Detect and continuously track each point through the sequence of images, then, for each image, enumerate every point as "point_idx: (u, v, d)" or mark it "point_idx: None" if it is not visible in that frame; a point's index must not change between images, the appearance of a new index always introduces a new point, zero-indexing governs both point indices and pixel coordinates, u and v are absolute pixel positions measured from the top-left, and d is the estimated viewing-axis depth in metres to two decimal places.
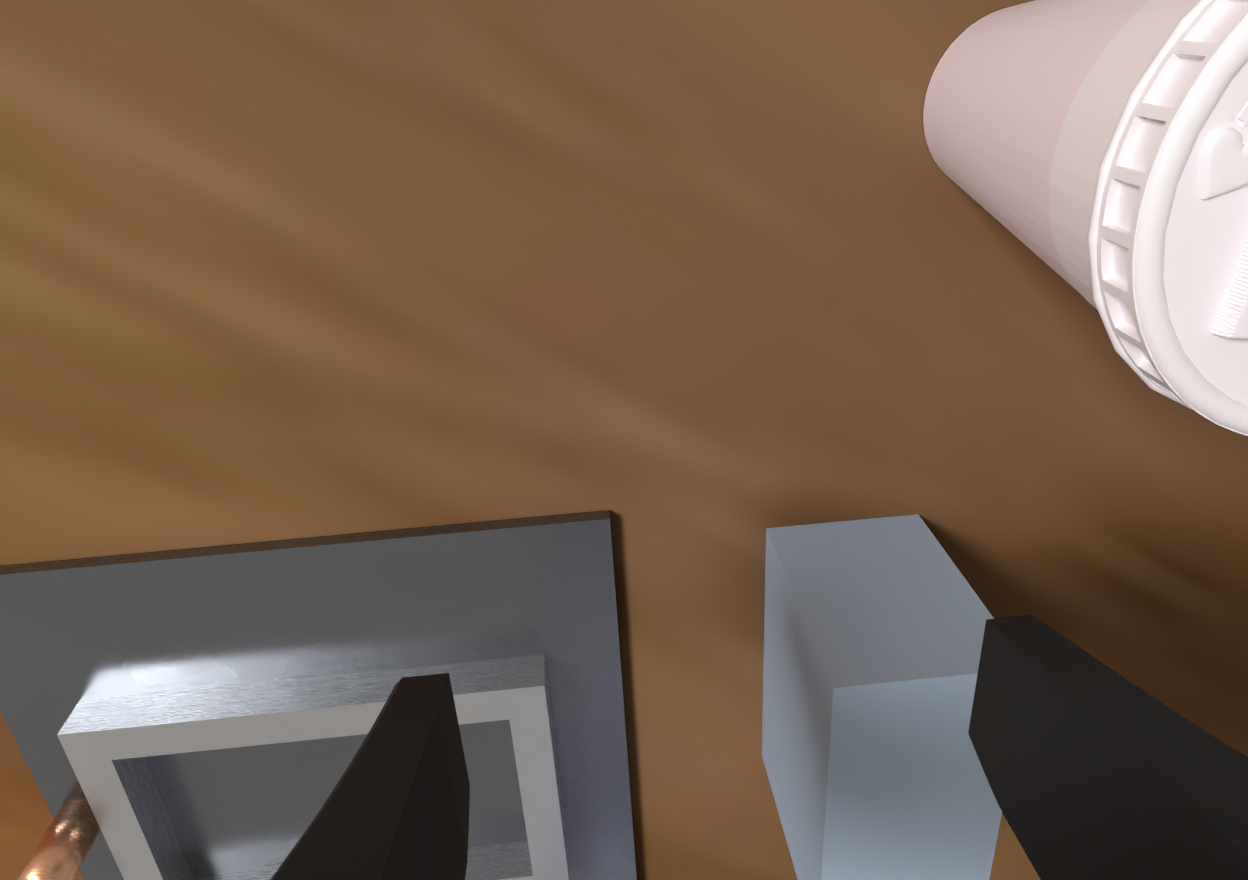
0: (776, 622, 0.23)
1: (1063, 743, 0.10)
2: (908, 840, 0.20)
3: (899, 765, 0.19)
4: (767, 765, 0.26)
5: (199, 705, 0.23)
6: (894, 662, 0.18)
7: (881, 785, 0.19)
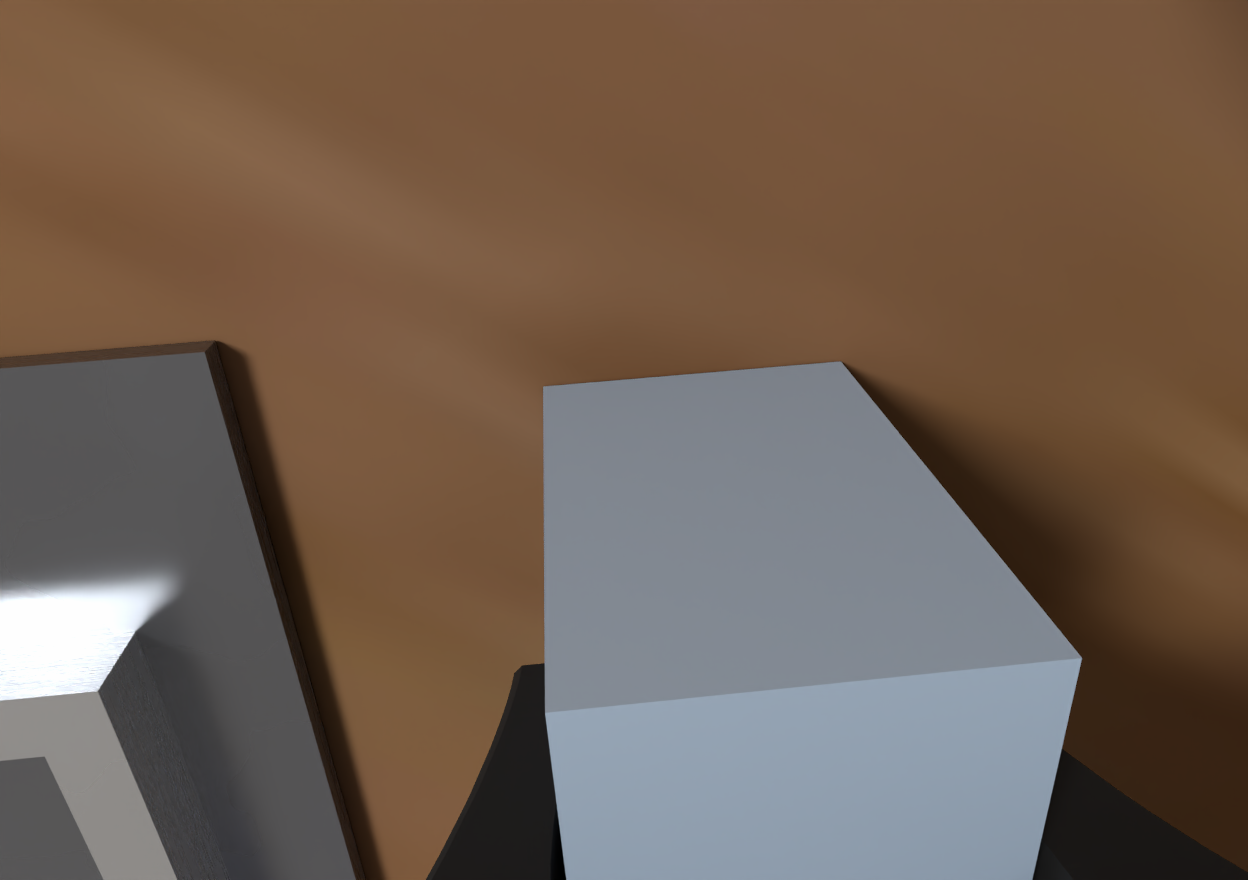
0: None
1: None
2: None
3: None
4: None
5: None
6: (728, 643, 0.07)
7: None
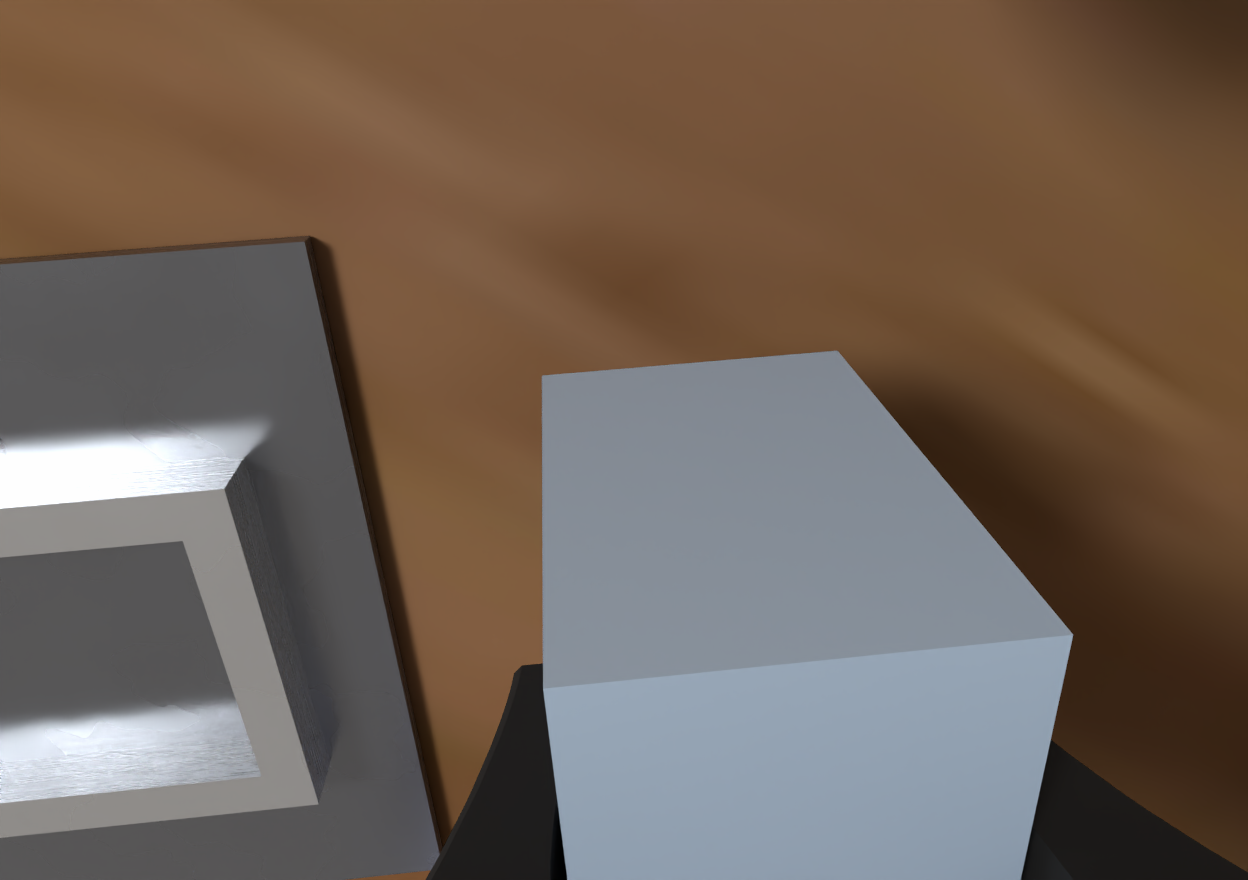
0: None
1: None
2: None
3: (748, 878, 0.08)
4: None
5: None
6: (724, 622, 0.07)
7: None
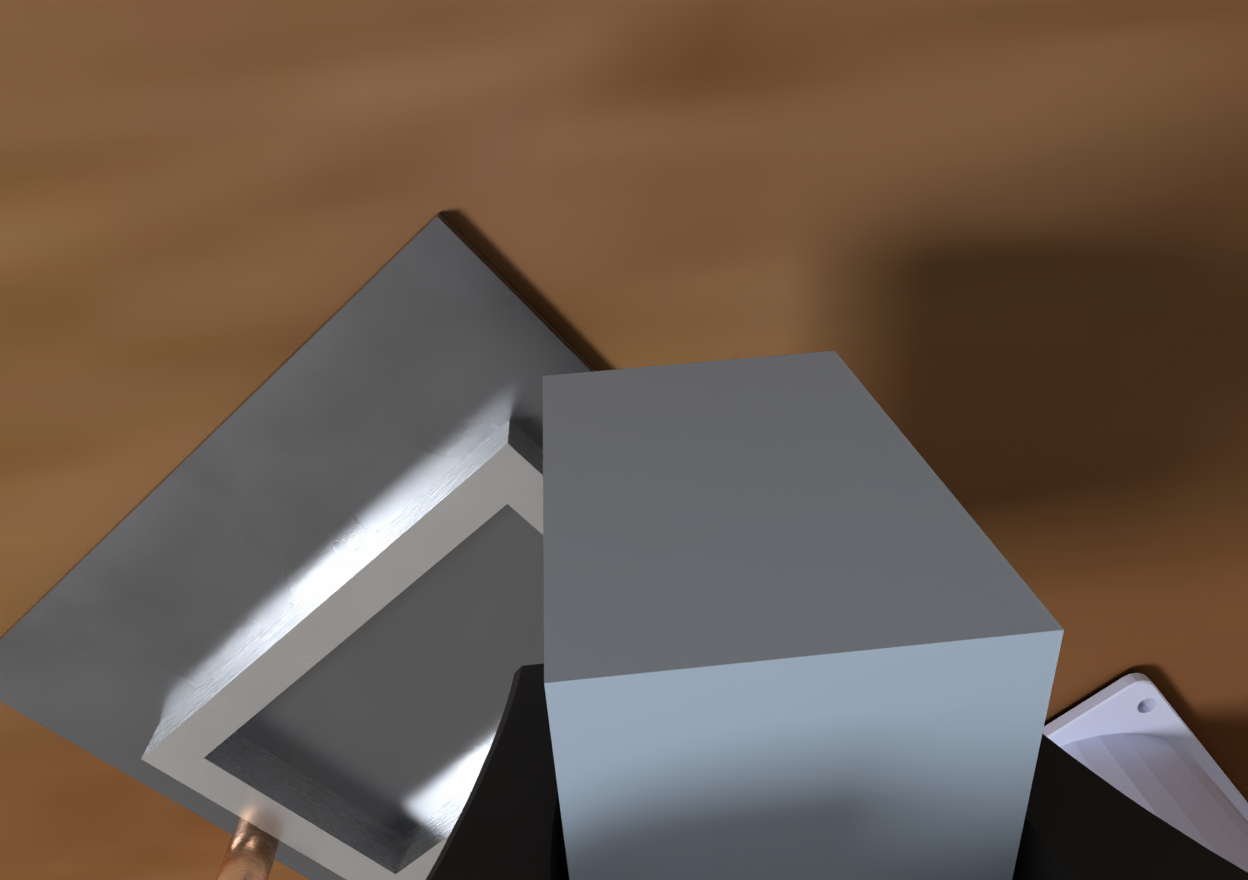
0: None
1: None
2: None
3: (745, 869, 0.08)
4: None
5: (237, 665, 0.21)
6: (722, 617, 0.07)
7: None
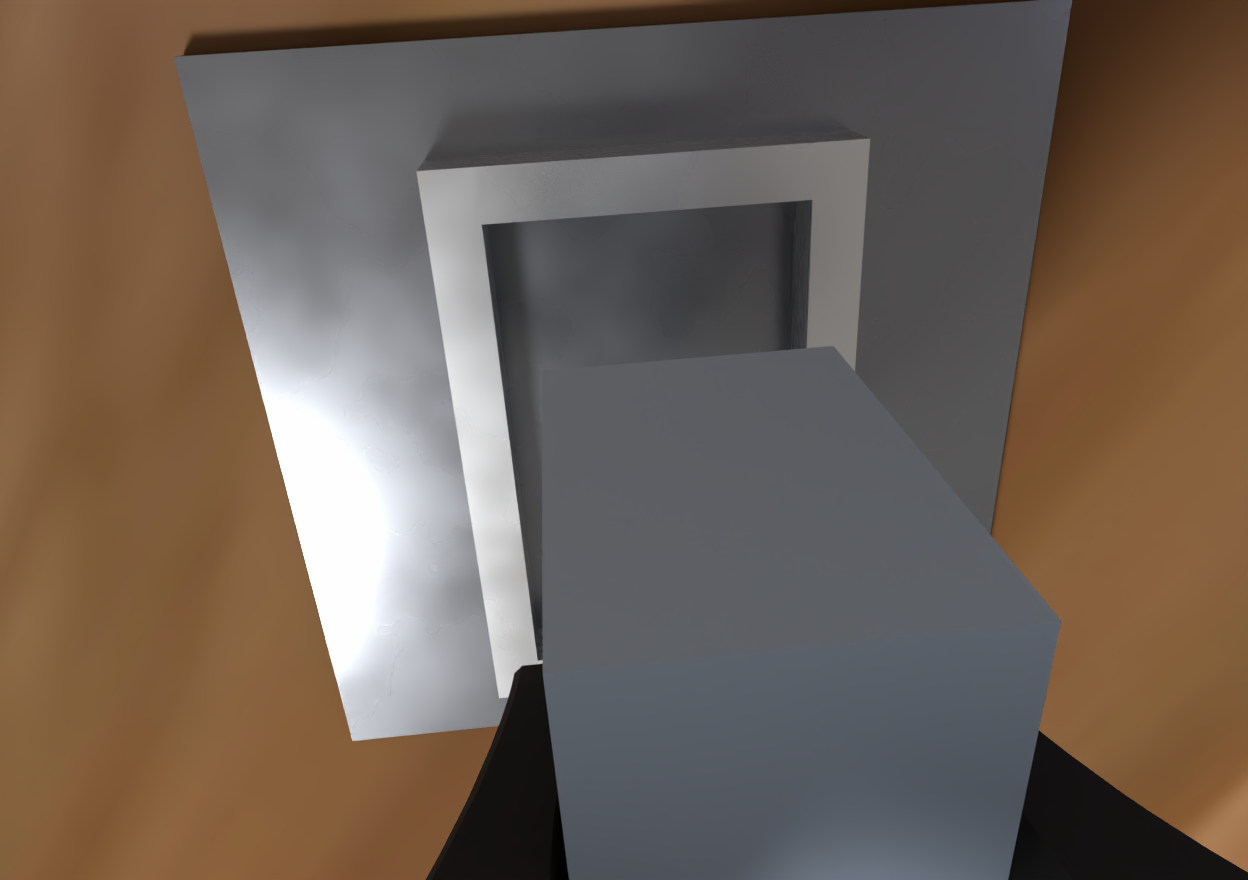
0: None
1: None
2: None
3: (744, 860, 0.08)
4: None
5: None
6: (720, 608, 0.07)
7: None
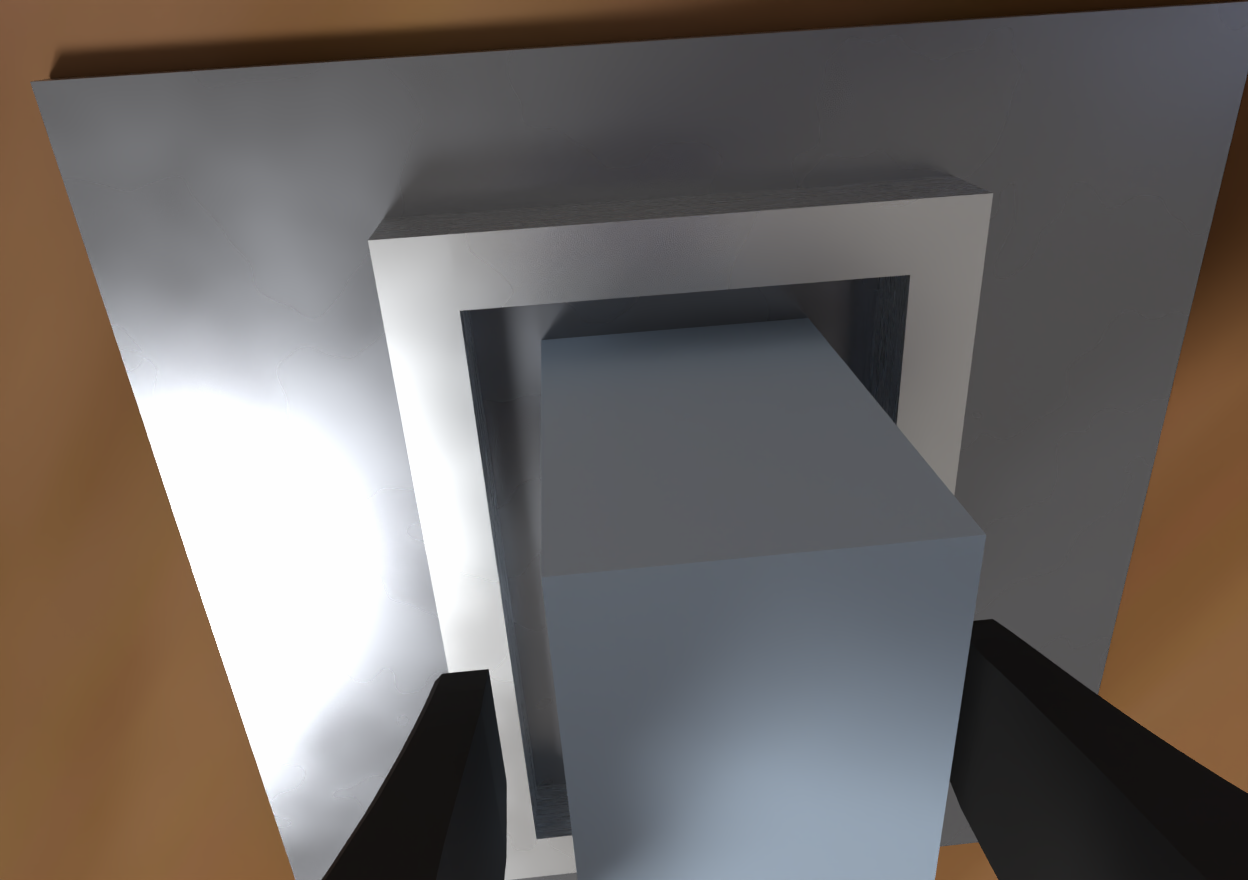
0: None
1: (1020, 746, 0.10)
2: None
3: (716, 753, 0.09)
4: None
5: None
6: (694, 528, 0.08)
7: (685, 795, 0.09)
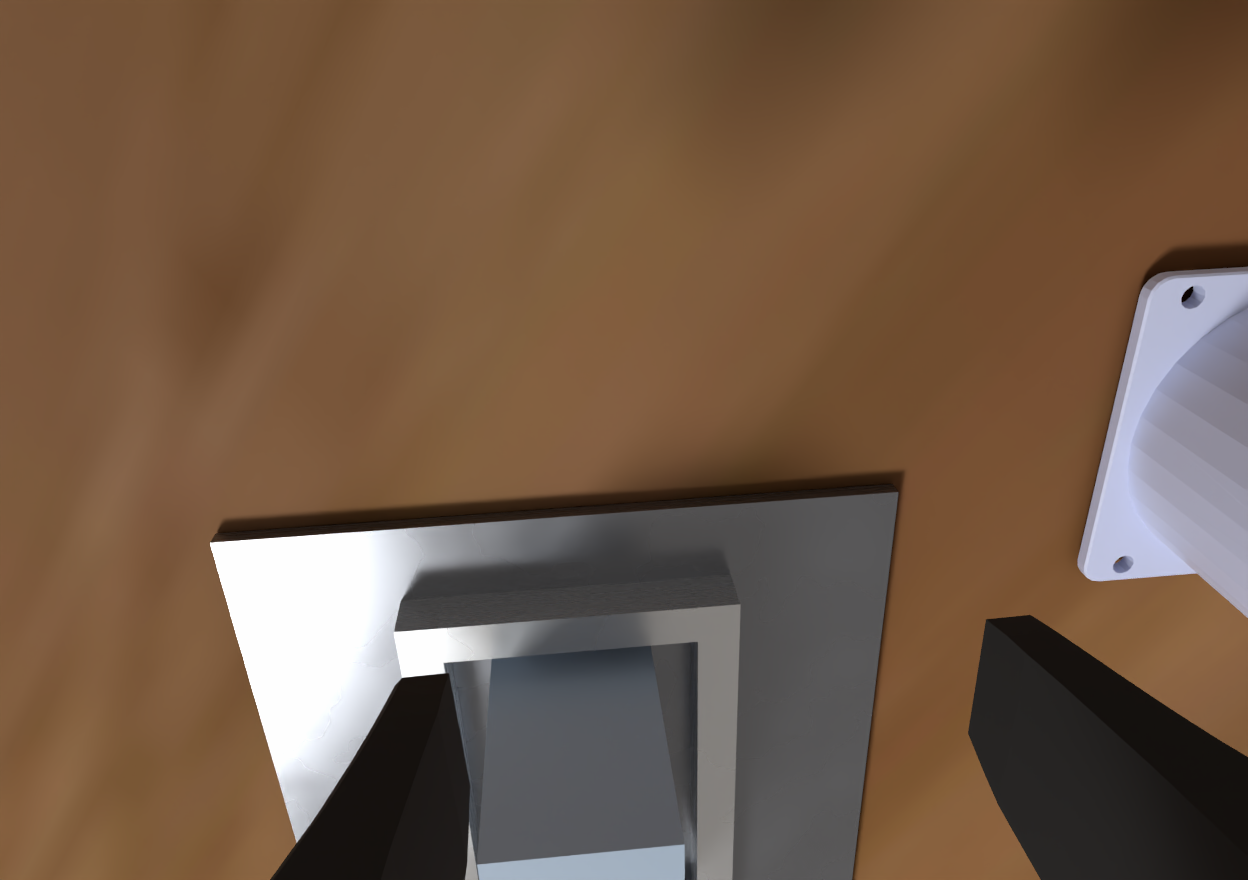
0: None
1: (1063, 742, 0.10)
2: None
3: None
4: None
5: None
6: (552, 833, 0.18)
7: None
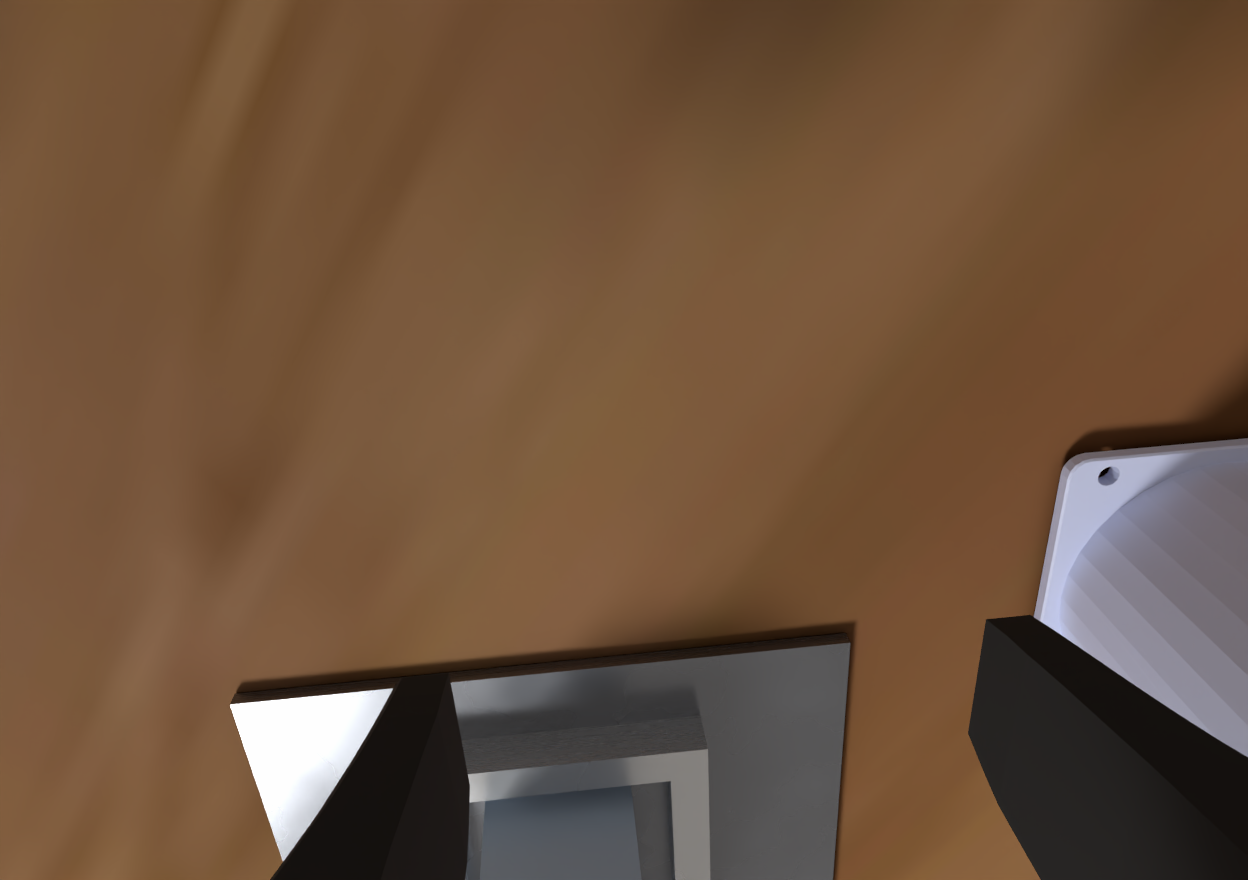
0: None
1: (1063, 742, 0.10)
2: None
3: None
4: None
5: None
6: None
7: None
